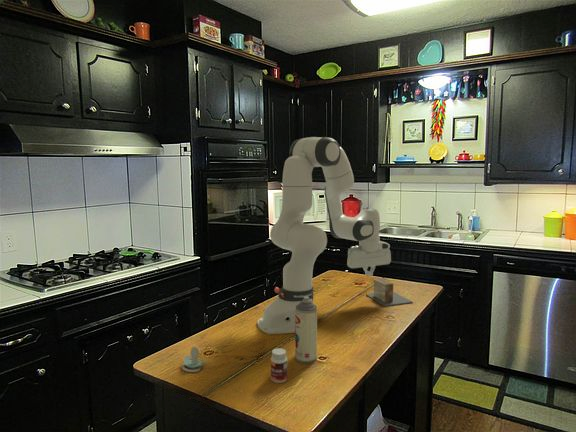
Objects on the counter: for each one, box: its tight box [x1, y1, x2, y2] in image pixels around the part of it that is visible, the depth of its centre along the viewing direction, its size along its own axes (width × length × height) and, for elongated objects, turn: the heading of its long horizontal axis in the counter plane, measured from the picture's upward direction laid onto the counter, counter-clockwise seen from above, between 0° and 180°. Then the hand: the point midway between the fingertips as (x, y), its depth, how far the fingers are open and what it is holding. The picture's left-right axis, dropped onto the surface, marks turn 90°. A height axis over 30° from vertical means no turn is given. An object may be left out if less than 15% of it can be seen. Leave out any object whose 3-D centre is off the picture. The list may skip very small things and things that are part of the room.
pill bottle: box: [270, 347, 288, 384], centre depth 118 cm, size 5×5×8 cm
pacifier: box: [181, 346, 207, 373], centre depth 124 cm, size 7×6×6 cm
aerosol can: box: [294, 296, 318, 365], centre depth 129 cm, size 7×7×20 cm
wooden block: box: [373, 277, 394, 302], centre depth 186 cm, size 4×9×8 cm, turn 20°
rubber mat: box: [365, 291, 414, 308], centre depth 187 cm, size 14×16×1 cm
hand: (368, 275), depth 182 cm, fingers closed
